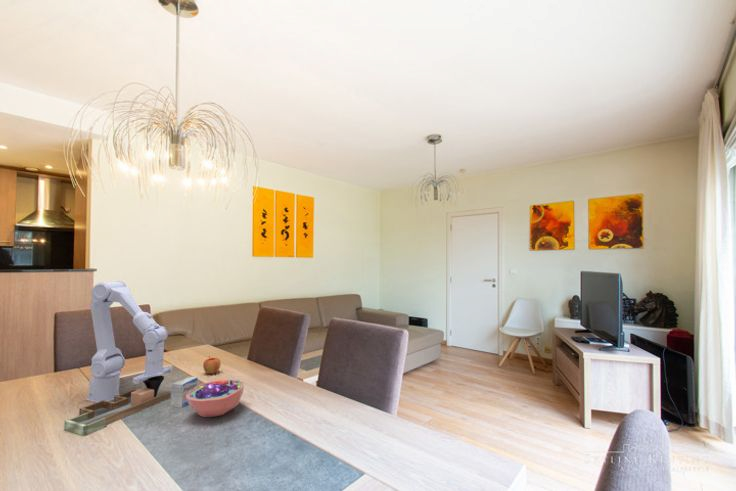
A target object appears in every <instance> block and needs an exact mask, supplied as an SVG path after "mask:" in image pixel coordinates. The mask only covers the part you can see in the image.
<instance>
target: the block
mask: <svg viewBox="0 0 736 491" xmlns="http://www.w3.org/2000/svg"><path fill="white" fill-rule="evenodd" d="M152 398H154V390H153V389H148V388H147V387H142V388H140V389H138V390H137V391H134V392H131V406H135V405H137V404H140V403H142V402H145V401H147V400H150V399H152Z"/></svg>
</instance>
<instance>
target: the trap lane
mask: <svg viewBox="0 0 736 491" xmlns="http://www.w3.org/2000/svg"><path fill="white" fill-rule="evenodd" d="M137 390H139V389H138V388H133V389H131V390H128V391H125V392H122V393H119V395H116V396H114V400H113V401H112V400H111V401H107V400H102V401H100V402H94V403H92V404H88V405H86V406H83V407H81V408H79V410H78V411H79V412H78V414H79V415H77V416H75V417H71V418H69V419H65V420H64V428H63V429H64V430H65V431H67V432H70V433H74V434H76V435H80V436H84V437H85V436H88V435H90V434H92V433H95V432H97V431H99V430H102V429H104V428H106V427H108V425H110V424H112V423H115V422H116V421H120V420H121V419H124V418H127V417H128V416H131V415H134V414H136V413H139V412H141V411H143V410H145V409H148V408H150V407H152V406H155V405H157V404H160V403H162V402H165V401H166V400H170V399H172V391H167V392H165V393H162V394H160V395H159V394H157V395H156V397H154V398H152V399H150V400H147V401H145V402H142V403H140V404H137V405H135V406H131V392H134V391H137Z"/></svg>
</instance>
